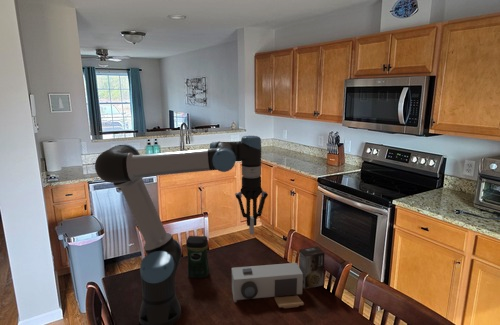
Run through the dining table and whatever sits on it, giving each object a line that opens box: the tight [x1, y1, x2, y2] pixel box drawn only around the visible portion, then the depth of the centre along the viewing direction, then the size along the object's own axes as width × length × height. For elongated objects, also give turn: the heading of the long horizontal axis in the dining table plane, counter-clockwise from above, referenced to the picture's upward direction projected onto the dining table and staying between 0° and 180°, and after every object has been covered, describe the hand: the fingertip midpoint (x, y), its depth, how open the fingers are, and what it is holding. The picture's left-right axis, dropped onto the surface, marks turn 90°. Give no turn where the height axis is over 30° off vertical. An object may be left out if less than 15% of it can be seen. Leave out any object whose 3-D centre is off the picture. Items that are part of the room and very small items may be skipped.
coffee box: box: [298, 245, 325, 290], centre depth 142 cm, size 9×6×16 cm
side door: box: [274, 294, 305, 309], centre depth 130 cm, size 10×1×8 cm
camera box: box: [231, 262, 303, 303], centre depth 136 cm, size 28×11×11 cm, turn 99°
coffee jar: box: [185, 235, 210, 279], centre depth 150 cm, size 10×8×19 cm
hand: (251, 232), depth 134 cm, fingers closed
